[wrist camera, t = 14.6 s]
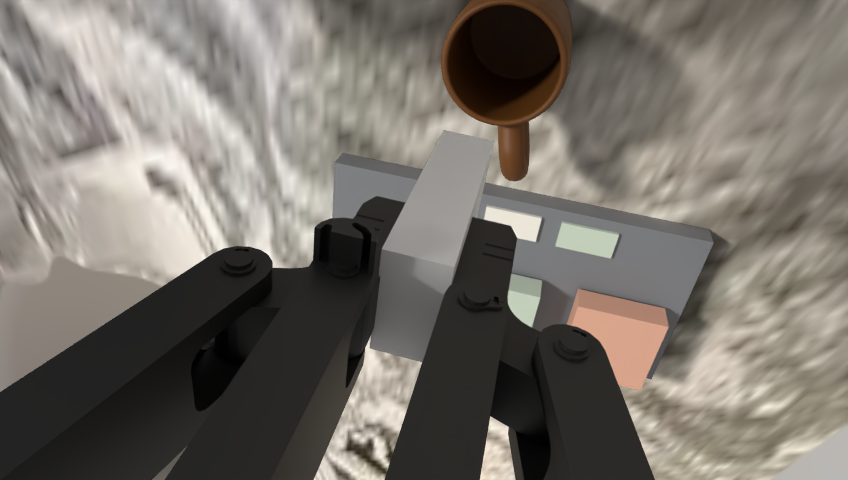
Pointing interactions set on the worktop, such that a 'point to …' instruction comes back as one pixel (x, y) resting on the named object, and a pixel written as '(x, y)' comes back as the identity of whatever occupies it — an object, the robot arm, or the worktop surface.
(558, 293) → the keypad board
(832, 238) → the worktop surface
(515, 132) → the mug
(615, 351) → the terracotta key
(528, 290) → the sage key
